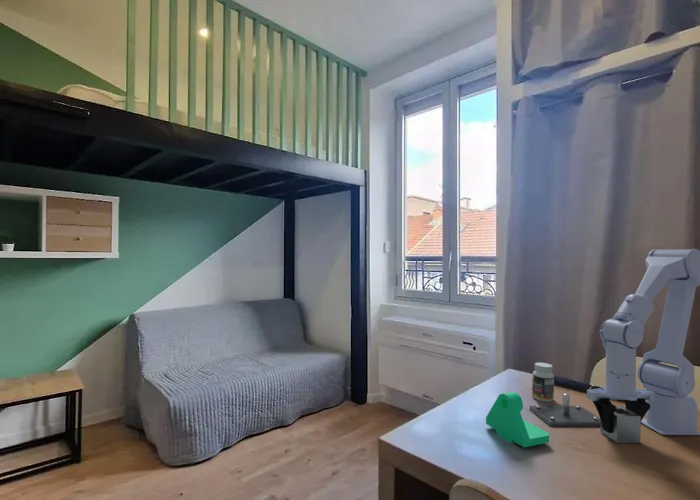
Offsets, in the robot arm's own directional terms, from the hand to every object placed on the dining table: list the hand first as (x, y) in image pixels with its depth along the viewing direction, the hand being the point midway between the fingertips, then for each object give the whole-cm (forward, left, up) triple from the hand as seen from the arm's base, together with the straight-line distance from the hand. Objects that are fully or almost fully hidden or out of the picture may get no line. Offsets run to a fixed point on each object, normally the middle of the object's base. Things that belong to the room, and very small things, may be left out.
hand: (619, 431), depth 89 cm
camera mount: (+24, -1, -2) cm, 24 cm away
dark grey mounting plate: (+6, -11, -2) cm, 13 cm away
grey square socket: (0, 0, -1) cm, 1 cm away
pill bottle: (+5, -24, -2) cm, 25 cm away
